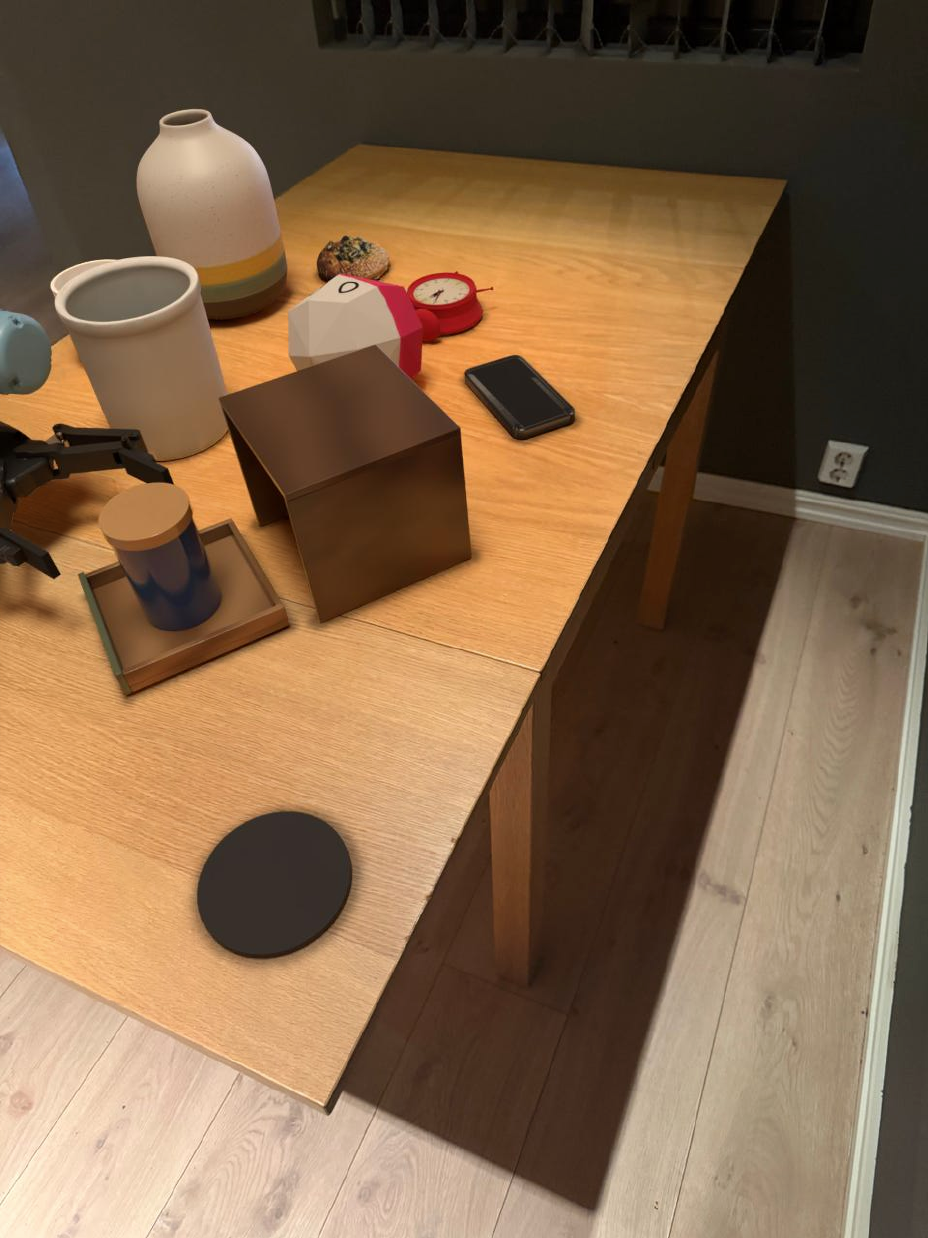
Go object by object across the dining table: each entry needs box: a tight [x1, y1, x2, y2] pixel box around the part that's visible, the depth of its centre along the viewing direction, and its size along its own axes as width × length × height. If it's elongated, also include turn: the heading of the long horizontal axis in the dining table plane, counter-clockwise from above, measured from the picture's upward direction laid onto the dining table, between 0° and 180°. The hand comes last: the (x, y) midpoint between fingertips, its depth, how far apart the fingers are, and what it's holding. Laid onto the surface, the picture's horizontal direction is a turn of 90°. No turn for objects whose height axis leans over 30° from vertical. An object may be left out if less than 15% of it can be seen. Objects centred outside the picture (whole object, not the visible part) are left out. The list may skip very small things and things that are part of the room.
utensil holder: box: [54, 255, 229, 462], centre depth 98 cm, size 15×15×18 cm
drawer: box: [77, 517, 291, 696], centre depth 82 cm, size 15×15×3 cm
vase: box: [136, 108, 288, 321], centre depth 117 cm, size 17×17×24 cm
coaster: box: [196, 810, 353, 959], centre depth 63 cm, size 11×11×1 cm
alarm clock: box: [406, 271, 494, 342], centre depth 116 cm, size 10×6×15 cm
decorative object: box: [287, 273, 423, 380], centre depth 102 cm, size 15×15×15 cm
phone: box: [463, 354, 576, 440], centre depth 103 cm, size 8×1×15 cm
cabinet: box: [219, 345, 473, 624], centre depth 83 cm, size 16×17×15 cm
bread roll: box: [316, 234, 390, 282], centre depth 129 cm, size 11×11×5 cm
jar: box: [97, 483, 222, 631], centre depth 78 cm, size 8×8×11 cm
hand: (113, 522), depth 80 cm, fingers open, 13 cm apart
